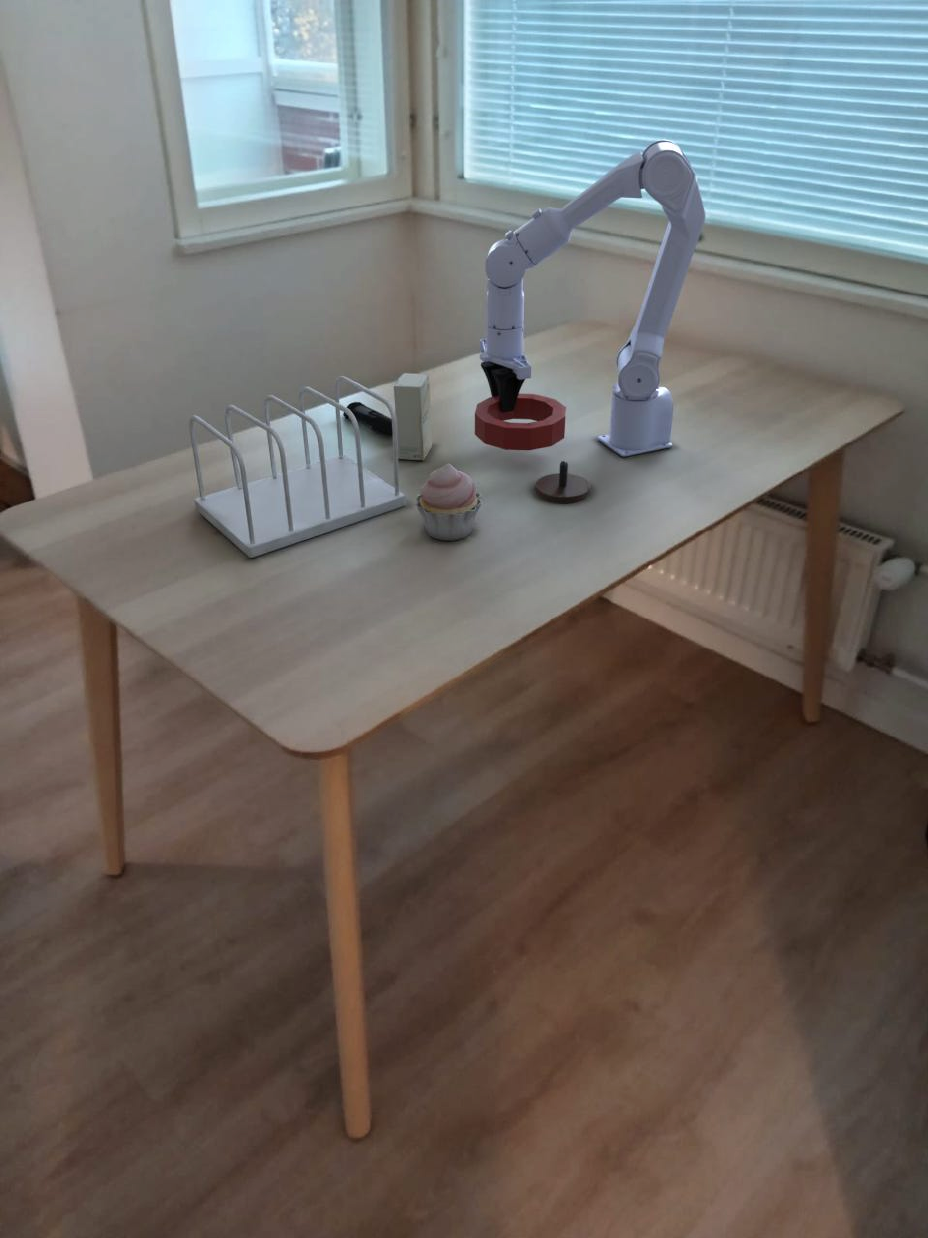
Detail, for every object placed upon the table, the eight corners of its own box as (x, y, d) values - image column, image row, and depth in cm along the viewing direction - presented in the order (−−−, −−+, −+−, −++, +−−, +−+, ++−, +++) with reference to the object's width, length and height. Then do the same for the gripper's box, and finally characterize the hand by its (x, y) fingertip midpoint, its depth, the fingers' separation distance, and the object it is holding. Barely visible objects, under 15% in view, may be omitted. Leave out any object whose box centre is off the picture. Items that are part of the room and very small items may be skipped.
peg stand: (573, 475, 146) (574, 446, 143) (599, 496, 140) (602, 466, 137) (526, 485, 143) (527, 455, 140) (551, 507, 137) (552, 477, 134)
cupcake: (487, 516, 135) (487, 451, 129) (476, 549, 127) (476, 482, 122) (423, 512, 136) (420, 447, 131) (408, 544, 129) (405, 477, 123)
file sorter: (250, 560, 126) (233, 451, 117) (195, 512, 137) (175, 409, 128) (407, 505, 138) (402, 403, 129) (344, 465, 150) (336, 368, 141)
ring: (538, 408, 158) (539, 388, 156) (580, 440, 147) (582, 418, 145) (461, 423, 153) (461, 401, 151) (499, 456, 143) (499, 434, 140)
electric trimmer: (397, 447, 156) (396, 429, 154) (341, 418, 165) (340, 401, 163) (415, 440, 158) (414, 422, 156) (359, 413, 167) (357, 395, 165)
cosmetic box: (423, 461, 150) (421, 387, 143) (396, 459, 151) (392, 385, 144) (432, 445, 155) (430, 373, 149) (406, 443, 156) (403, 371, 149)
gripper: (462, 314, 150) (463, 396, 158) (501, 341, 139) (500, 428, 147) (502, 308, 153) (501, 390, 160) (544, 334, 142) (541, 420, 149)
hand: (503, 408), depth 154 cm, fingers closed on ring, 2 cm apart
